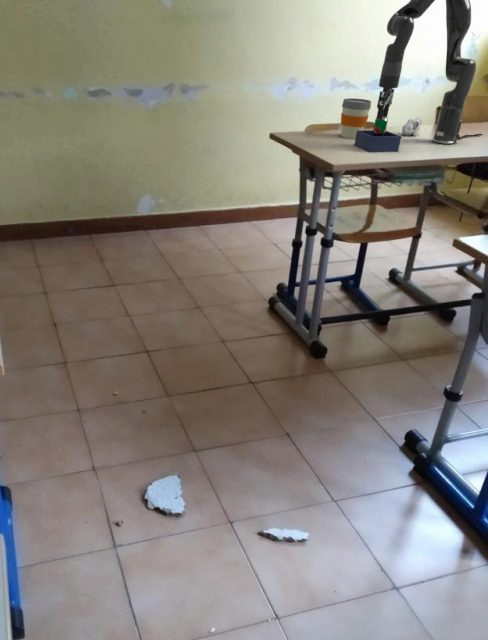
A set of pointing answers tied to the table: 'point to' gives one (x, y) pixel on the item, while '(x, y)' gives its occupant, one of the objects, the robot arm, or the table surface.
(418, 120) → the skull
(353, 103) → the reusable coffee cup
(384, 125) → the soda can
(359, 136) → the tote
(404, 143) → the table surface
